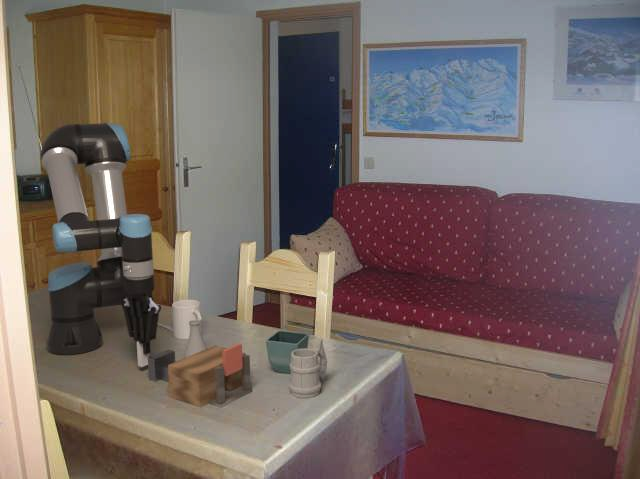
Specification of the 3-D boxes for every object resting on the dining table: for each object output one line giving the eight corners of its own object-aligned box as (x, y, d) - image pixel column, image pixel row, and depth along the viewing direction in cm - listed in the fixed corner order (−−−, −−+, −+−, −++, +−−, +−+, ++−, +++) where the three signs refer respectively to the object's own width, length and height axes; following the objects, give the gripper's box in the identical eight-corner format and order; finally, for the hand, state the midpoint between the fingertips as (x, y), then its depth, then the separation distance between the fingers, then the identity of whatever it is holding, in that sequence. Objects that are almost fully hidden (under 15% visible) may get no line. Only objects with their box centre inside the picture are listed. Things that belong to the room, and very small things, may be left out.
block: (169, 397, 164) (167, 360, 162) (216, 375, 177) (215, 341, 175) (213, 411, 156) (211, 373, 154) (259, 387, 169) (258, 352, 167)
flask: (204, 362, 186) (202, 326, 184) (178, 360, 187) (176, 324, 185) (213, 352, 193) (212, 318, 191) (188, 351, 194) (187, 316, 192)
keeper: (223, 375, 160) (222, 350, 159) (239, 367, 164) (238, 343, 163) (226, 376, 159) (225, 351, 158) (242, 368, 164) (241, 344, 162)
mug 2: (282, 393, 165) (281, 345, 163) (313, 378, 174) (313, 332, 172) (306, 401, 161) (306, 352, 158) (338, 385, 170) (337, 338, 167)
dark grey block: (149, 380, 174) (147, 357, 173) (169, 371, 180) (168, 349, 179) (184, 391, 167) (183, 367, 166) (204, 381, 173) (203, 358, 172)
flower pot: (310, 365, 182) (309, 333, 181) (298, 378, 174) (297, 344, 173) (279, 362, 185) (278, 329, 184) (265, 374, 177) (264, 340, 175)
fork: (172, 340, 212) (173, 331, 211) (131, 319, 224) (131, 311, 223) (180, 337, 214) (180, 329, 213) (138, 317, 226) (138, 309, 225)
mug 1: (189, 345, 199) (188, 311, 197) (168, 334, 208) (167, 303, 206) (213, 338, 204) (212, 306, 203) (192, 329, 213) (190, 298, 211)
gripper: (109, 275, 176) (115, 364, 180) (144, 282, 169) (150, 374, 173) (132, 269, 182) (138, 355, 186) (167, 276, 175) (172, 365, 179)
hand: (144, 364), depth 180 cm, fingers closed
